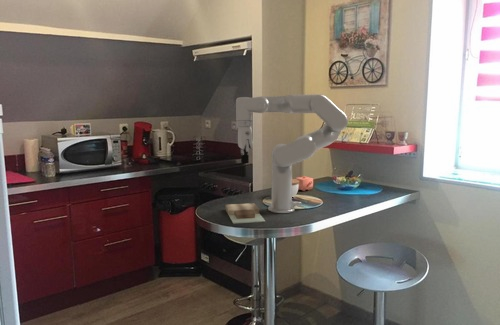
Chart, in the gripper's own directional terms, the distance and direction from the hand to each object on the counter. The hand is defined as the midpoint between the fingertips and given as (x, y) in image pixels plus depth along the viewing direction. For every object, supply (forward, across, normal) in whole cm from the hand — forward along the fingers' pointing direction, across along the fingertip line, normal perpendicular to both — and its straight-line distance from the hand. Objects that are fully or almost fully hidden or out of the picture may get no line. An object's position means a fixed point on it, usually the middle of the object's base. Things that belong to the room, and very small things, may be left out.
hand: (244, 163), depth 199 cm
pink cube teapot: (+23, +32, -45) cm, 60 cm away
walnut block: (+22, -12, +4) cm, 26 cm away
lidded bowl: (+23, +19, -28) cm, 41 cm away
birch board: (+23, -3, +3) cm, 23 cm away
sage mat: (+23, -15, +4) cm, 27 cm away
